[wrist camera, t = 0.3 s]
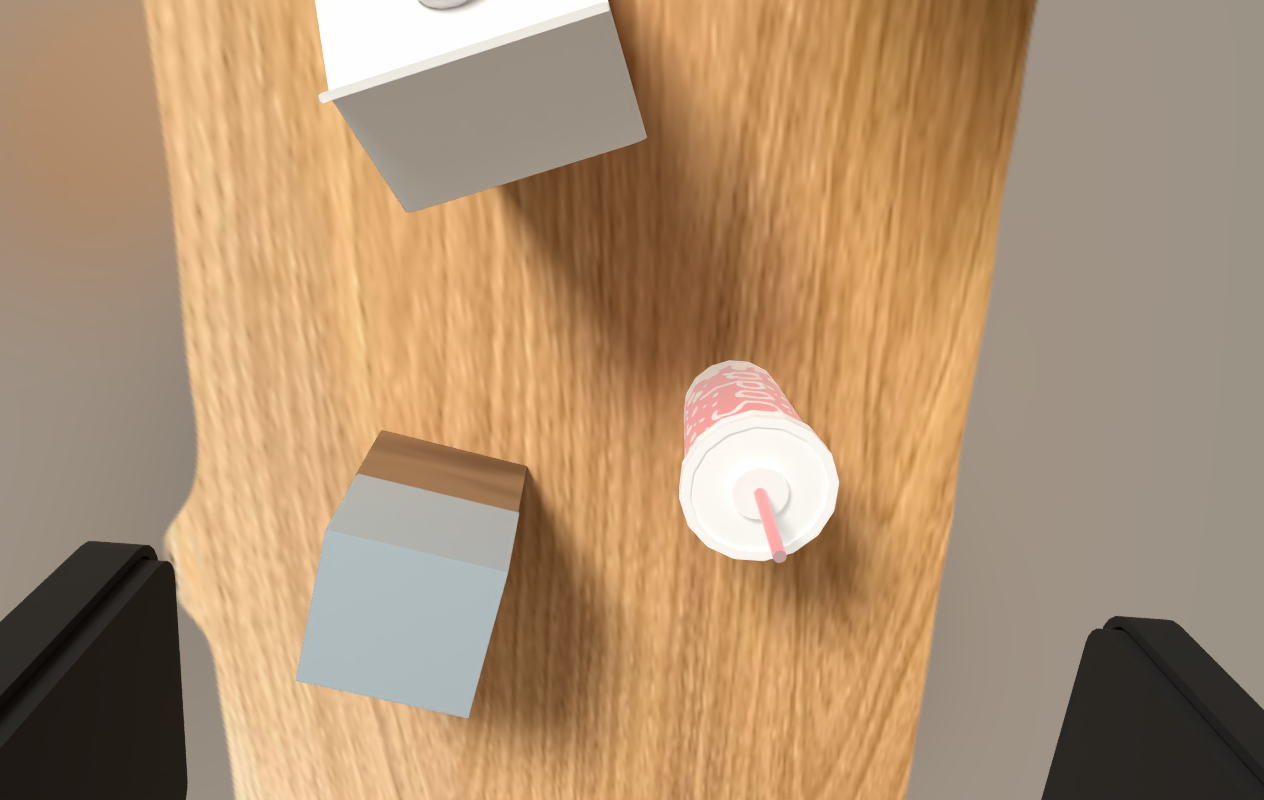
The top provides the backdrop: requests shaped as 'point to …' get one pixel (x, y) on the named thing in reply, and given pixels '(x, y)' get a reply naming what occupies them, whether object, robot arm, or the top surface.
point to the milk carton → (476, 89)
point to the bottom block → (445, 470)
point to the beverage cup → (752, 466)
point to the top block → (407, 595)
